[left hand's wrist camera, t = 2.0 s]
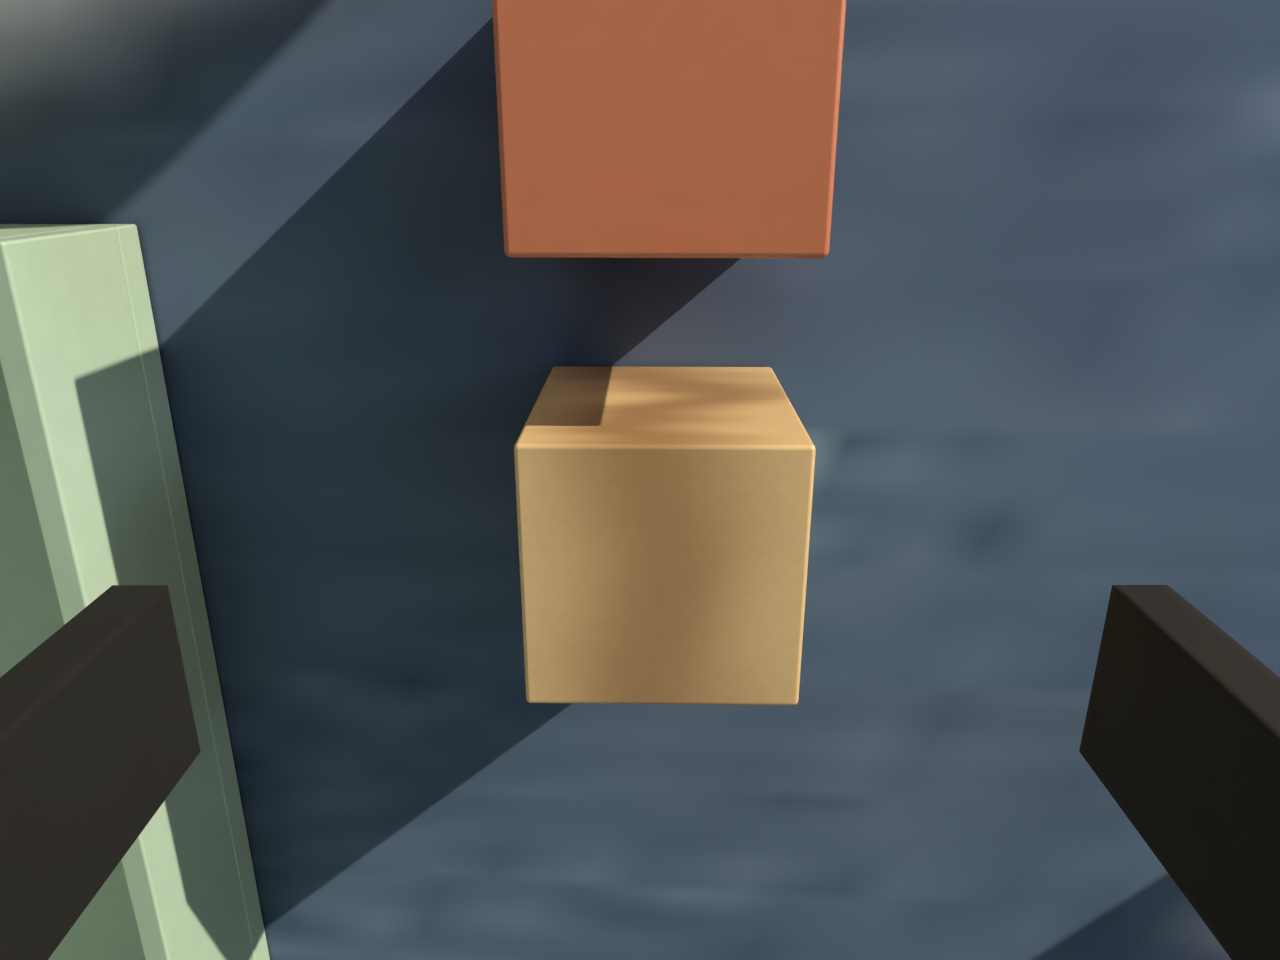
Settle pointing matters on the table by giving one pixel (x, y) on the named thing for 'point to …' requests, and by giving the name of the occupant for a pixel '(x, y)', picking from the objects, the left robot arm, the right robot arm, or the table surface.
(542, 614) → the beech block
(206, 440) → the table surface
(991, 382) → the table surface
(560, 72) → the terracotta block
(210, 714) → the tray
